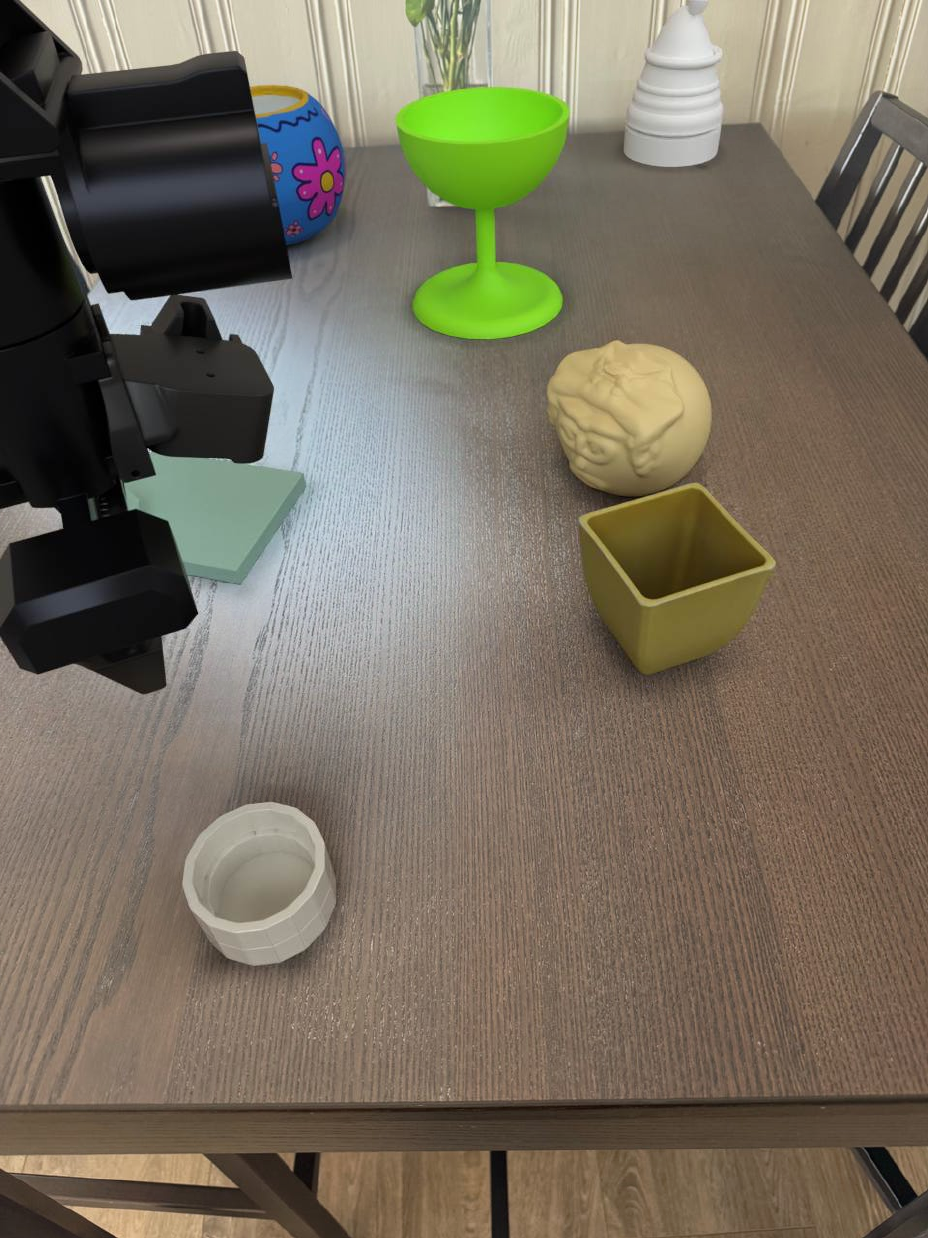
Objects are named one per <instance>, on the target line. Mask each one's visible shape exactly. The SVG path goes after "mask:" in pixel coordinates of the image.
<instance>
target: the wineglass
mask: <svg viewBox="0 0 928 1238" xmlns="http://www.w3.org/2000/svg"><path fill="white" fill-rule="evenodd" d="M570 114H571V108H570V107H569V105H568V103H567V102H566V101H564V100H563V99H561V98H559V97H558V96H556V95H554V94H553V95H552V94H550V93H546V92H543V91H540V90H535V89H534V90H533V89H529V88H523V87H510V86H508V87H507V86H479V87H466V88H460V89H459V88H458V89H452V90H447V91H442V92H437V93H433V94H429V95H427V96H423V97H420V98H418V99H416V100H414V101H411V102H409V103H407V104H405V106H403V107H402V108H401V109H399V110H398V112H397V113H396V114H395V117H394V121H395V125H396V129H397V134H398V138H399V143H400V147H401V152H402V153H403V155H404V157H405V159H406V161H407V163H408V165H409V167H410V169H411V171H412V172H413V173H414V175H415V176H416V178H418V179H419V180H420V182H421V183H422V184H423V185H424V186H425V187H426V189H427V190H429V191H430V193H432V194H433V195H435V196H437V197H439V198H440V199H442V201H443V200H444V201H445V202H447V203H448V204H451V205H453V206H455V207H459V208H462V209H468V210H469V209H470V210H474V213H475V214H474V215H475V240H476V241H475V242H476V245H475V246H476V262H470V263H465V264H461V265H457V266H453V267H450V268H447V269H445V270H441V271H440V272H438V273H436V274H434V275H432V276H431V277H430V278H428V279H426V280H425V281H424V282H423V283H422V284H421V285H420V287H419V288H418V289H417V290H416V292H415V295H414V298H413V300H412V304H411V305H412V306H411V307H412V311H413V315H414V316H415V317H416V319H417V320H418V321H419V322H420V323H421V324H422V325H424V326H426V327H427V328H429V329H430V330H432V331H435V332H437V333H440V334H443V335H445V336H449V337H454V338H460V339H466V340H495V339H504V338H506V339H507V338H512V337H516V336H519V335H523V334H527V333H530V332H533V331H535V330H537V329H539V328H541V327H544V326H545V325H547V324H549V323H550V322H551V321H552V320H553V319H555V318H556V317H557V316H558V315H559V313H560V311H561V310H562V308H563V299H564V297H563V294H562V292H561V290H560V287H559V286H558V284H557V283H556V282H555V281H554V280H553V279H552V278H551V277H550V276H548V275H547V273H544V272H542V271H540V270H538V269H536V268H533V267H530V266H526V265H523V264H521V263H520V264H519V263H515V262H514V263H513V262H506V261H496V220H495V219H496V217H495V215H496V213H495V209H498V208H499V209H500V208H503V207H507V206H510V205H513V204H515V203H517V202H520V201H521V200H522V199H524V198H525V197H527V196H528V195H529V194H530V193H532V192H533V191H534V190H536V189H537V188H538V187H540V186H541V184H542V183H543V182H544V181H545V179H546V178H547V176H548V175H549V174H550V172H551V171H552V170H553V168H555V166H556V165H557V162H558V160H559V158H560V155H561V153H562V150H563V148H564V146H565V143H566V139H567V134H568V127H569V122H570Z"/></svg>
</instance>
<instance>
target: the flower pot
mask: <svg viewBox="0 0 928 1238" xmlns="http://www.w3.org/2000/svg"><path fill="white" fill-rule="evenodd" d="M577 521H578V522H577V523H578V531H579V542H580V552H581V553H580V554H581V562H582V571H583V577H584V582H585V585H586V587H587V591H588V594H589V596H590V598H591V601H592V603H593V605H594V607H595V609H596V611H597V612H598V614H599V616H600V617H601V619H602V620H603V622H604V624H605V626H606V627H607V628H608V630H609V631H610V632H611V634H612V635H613V636H614V638H615V640H616V641H617V643H618V644H619V645H620V647H622V649H623V651H624V652H625V654H626V655H627V657H628V658H629V659H630V661H631V662H632V664H633V665H634V667H635V669H636V670H637V671H638V673H641V674H642V675H644V676H650V675H654V674H656V673H659V672H662V671H665V670H668V669H671V668H674V667H676V666H679V665H683V664H685V663H688V662H692V661H694V660H697V659H702V658H704V657H707V656H709V655H711V654H712V653H714V652H716V651H717V650H719V649H721V648H722V647H724V646H725V645H727V644H728V643H729V642H731V641H732V640H733V639H734V638H735V637H737V636H738V635H739V634H740V633H741V631H743V629H744V628H745V627H746V625H747V624H748V623H749V621H750V620H751V619H752V616H753V614H754V612H755V610H756V608H757V606H758V604H759V602H760V600H761V598H762V596H763V593H764V591H765V590H766V587H767V585H768V583H769V581H770V578H771V576H772V574H773V572H774V570H775V568H776V565H777V562H776V560H775V559H774V558H773V557H772V556H771V555H770V553H769V552H768V551H767V550H765V549H764V548H763V546H761V544H760V543H759V542H758V541H756V540H755V538H753V537H752V536H751V535H750V533H748V531H746V530H745V529H744V528H743V526H741V525H740V524H739V523H738V522H737V521H736V520H735V519H734V518H733V517H732V515H730V513H729V512H728V511H727V510H726V509H725V507H723V506H722V504H721V503H720V502H719V501H718V500H717V499H716V498H715V496H713V495H712V493H711V492H710V491H709V490H708V489H706V487H704V486H703V485H701V484H700V483H699V482H692V483H691V482H690V483H687V484H683V485H679V486H676V487H674V488H669V489H665V490H662V491H659V492H656V493H653V494H649V495H645V496H642V497H639V498H636V499H633V500H629V501H625V502H622V503H619V504H615V505H612V506H608V507H604V508H601V509H597V510H593V511H590V512H587V513H585V514H582V515H580V516H578V518H577Z"/></svg>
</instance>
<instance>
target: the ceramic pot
mask: <svg viewBox="0 0 928 1238" xmlns="http://www.w3.org/2000/svg"><path fill="white" fill-rule="evenodd" d="M250 90H251V95H252V100H253V105H254V110H255V115H256V120H257V125H258V130H259V135H260V141H261V143H267V147H268V152H269V157H270V162H271V167H272V172H273V177H274V182H275V187H276V193H277V198H278V203H279V208H280V214H281V219H282V224H283V230H284V235H285V240H286V246H291V245H295V244H299V243H301V242H304V241H307V240H309V239H310V238H312V237H314V236H315V235H317V234H319V233H320V232H322V231H323V230H324V229H326V228H327V227H328V226H329V224H331V223H332V221H333V220H334V219H335V218H336V216H337V213H338V210H339V208H340V205H341V201H342V198H343V194H344V190H345V186H346V179H347V159H346V154H345V149H344V147H343V143H342V140H341V138H340V136H339V133H338V131H337V129H336V126H335V124H334V123H333V121H332V119H331V117H330V115H329V114H328V112H327V111H326V109H325V108H324V106H323V105H322V104H321V102H319V100H317V99H316V98H315V97H314V96H312V95H311V94H310V93H309V92H307V91H306V90H304V89H301V88H298V87H295V86H290V85H281V84H267V85H264V84H263V85H254V86H253V85H252V86H250Z"/></svg>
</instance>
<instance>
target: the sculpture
mask: <svg viewBox="0 0 928 1238" xmlns="http://www.w3.org/2000/svg"><path fill="white" fill-rule="evenodd" d="M554 372H555V373H554V375H552V376H551V377H550V378H549V380H548V382H547V386H546V398H547V402H548V406H547V409H546V413H547V416H548V421H549V423H550V424H551V425H552V426H554V427H555V430H556V434H557V436H558V440H559V442H560V444H561V447H562V449H563V451H564V454H565V456H566V458H567V460H568V462H569V469H570V471H571V472H572V473H573V474H574V475H575V476H576V477H577V478H578V479H579V480H580V481H582V483H584V484H585V485H587V486H588V487H590V488H592V489H595V490H599V491H602V492H605V493H608V494H611V495H614V496H619V497H632V498H633V497H645V496H650V495H654V494H657V493H660V492H663V491H665V490H667V489H669V488H670V487H672V486H674V485H675V484H677V483H678V482H680V481H681V480H682V479H684V478H685V476H686V475H687V474H688V473H689V472H690V471H691V470H692V469H693V467H694V466H695V465H696V463H697V462H698V461H699V459H700V457H701V456H702V454H703V452H704V450H705V448H706V445H707V442H708V440H709V436H710V433H711V429H712V418H713V416H712V413H713V412H712V403H711V398H710V393H709V391H708V388H707V386H706V384H705V382H704V380H703V378H702V376H701V375H700V374H699V372H698V371H697V369H695V367H694V366H693V364H691V363H690V362H689V361H688V360H686V358H684V357H683V356H681V355H680V354H678V353H676V352H675V351H673V350H671V349H670V348H669V349H668V348H666V347H663V346H660V345H656V344H652V343H651V344H650V343H627V344H626V343H624V342H623V341H621V340H618V339H615V340H612V341H611V342H608V343H607V344H605V345H603V346H601V347H595V348H588V349H582V350H577V351H573V352H571V353H568V354H567V355H566V356H565V357H564V358H563V359H562V360H561V361H560V363H559V364H558V366H557V368H556V369H555V371H554Z"/></svg>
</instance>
